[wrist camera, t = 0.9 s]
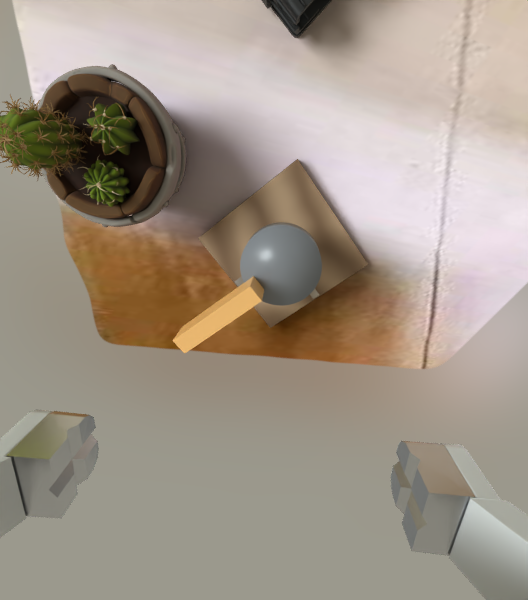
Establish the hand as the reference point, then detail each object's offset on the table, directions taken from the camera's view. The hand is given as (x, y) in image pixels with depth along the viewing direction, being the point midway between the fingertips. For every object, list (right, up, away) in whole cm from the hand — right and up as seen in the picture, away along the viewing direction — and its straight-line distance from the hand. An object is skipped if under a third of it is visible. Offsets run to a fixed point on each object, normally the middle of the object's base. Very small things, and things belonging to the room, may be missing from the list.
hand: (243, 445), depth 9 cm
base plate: (+3, +11, +37) cm, 39 cm away
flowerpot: (-14, +22, +34) cm, 43 cm away
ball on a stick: (-1, +6, +32) cm, 33 cm away
